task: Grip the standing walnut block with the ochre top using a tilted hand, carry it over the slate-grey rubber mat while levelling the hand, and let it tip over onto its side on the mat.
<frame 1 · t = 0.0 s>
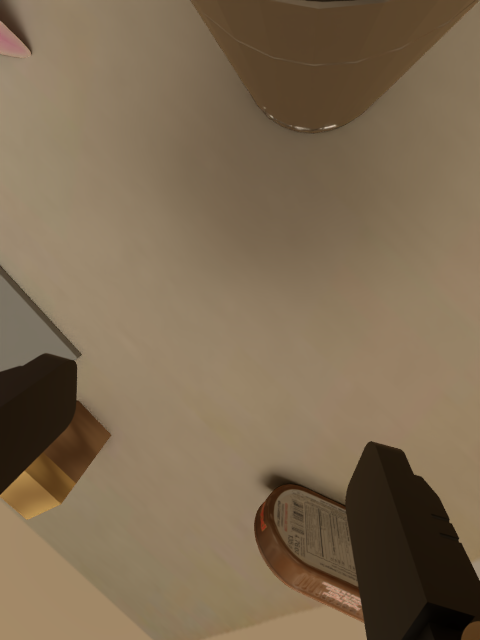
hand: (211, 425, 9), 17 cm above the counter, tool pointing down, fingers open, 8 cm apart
tin: (331, 504, 33), on the counter
block: (79, 426, 35), on the counter
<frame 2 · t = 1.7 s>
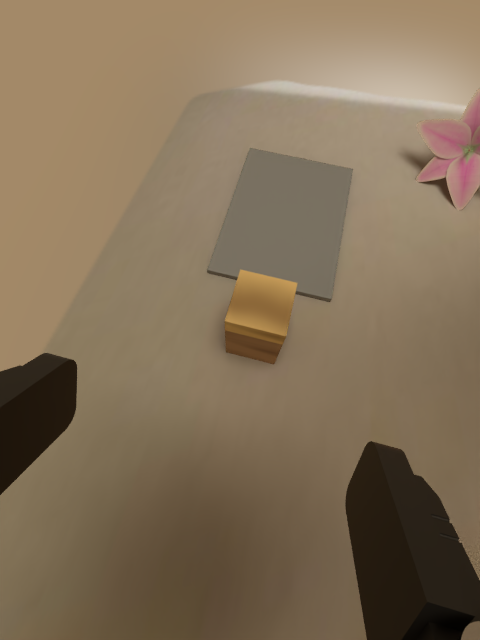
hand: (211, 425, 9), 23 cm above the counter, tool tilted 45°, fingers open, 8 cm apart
mat: (285, 218, 41), on the counter
lily: (445, 180, 44), on the counter
block: (255, 335, 34), on the counter
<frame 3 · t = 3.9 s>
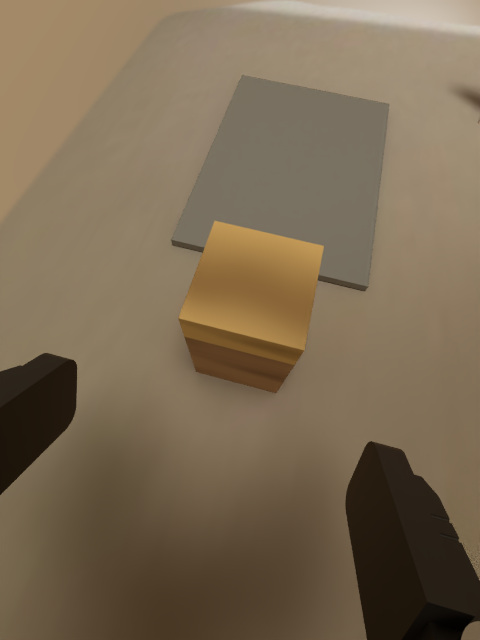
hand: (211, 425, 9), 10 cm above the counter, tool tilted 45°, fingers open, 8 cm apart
mat: (293, 169, 27), on the counter
block: (245, 344, 21), on the counter
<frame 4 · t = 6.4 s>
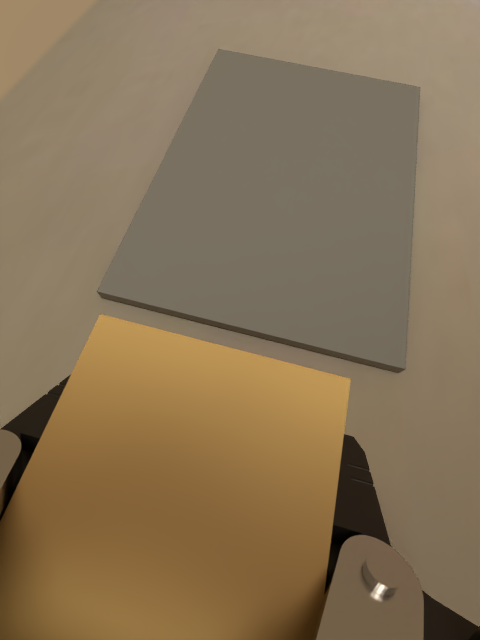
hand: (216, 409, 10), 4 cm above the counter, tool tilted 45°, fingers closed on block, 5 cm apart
mat: (287, 178, 19), on the counter
block: (207, 474, 13), on the counter, touching gripper
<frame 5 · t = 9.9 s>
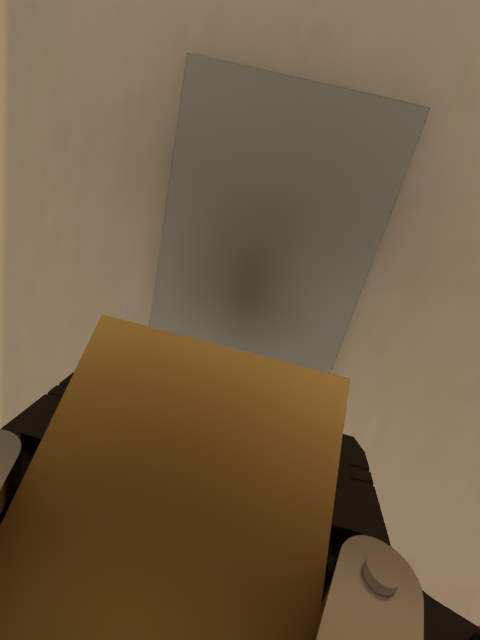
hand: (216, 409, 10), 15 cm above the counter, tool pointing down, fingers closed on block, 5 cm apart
mat: (263, 252, 23), on the counter
block: (208, 474, 13), point 13 cm above the counter, tilted 45°, touching gripper
when the fingers open (5 cm above the counter, at t = 12.4 s): block moves 2 cm and tips over, resting on mat.
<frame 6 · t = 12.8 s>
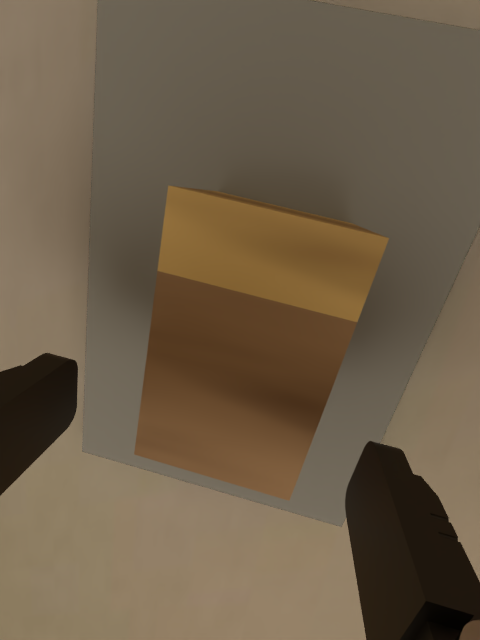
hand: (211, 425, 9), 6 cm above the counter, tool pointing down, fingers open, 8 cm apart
mat: (250, 306, 14), on the counter
block: (226, 425, 12), point 3 cm above the counter, tilted 90°, touching mat
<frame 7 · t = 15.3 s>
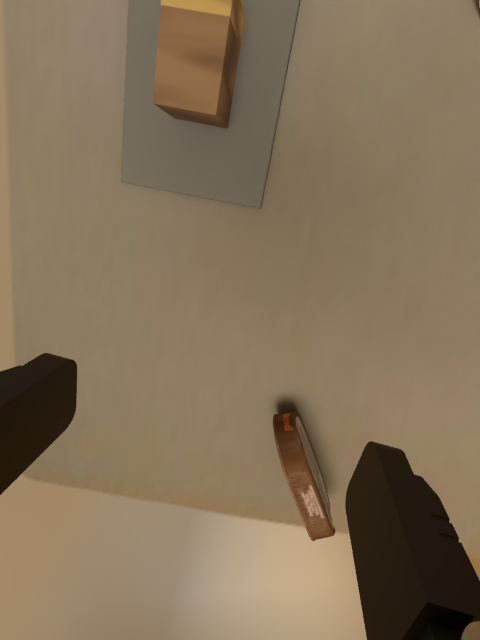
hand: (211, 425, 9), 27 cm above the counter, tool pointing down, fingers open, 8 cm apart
mat: (205, 75, 29), on the counter
tin: (303, 446, 41), on the counter
block: (193, 117, 27), point 3 cm above the counter, tilted 90°, touching mat
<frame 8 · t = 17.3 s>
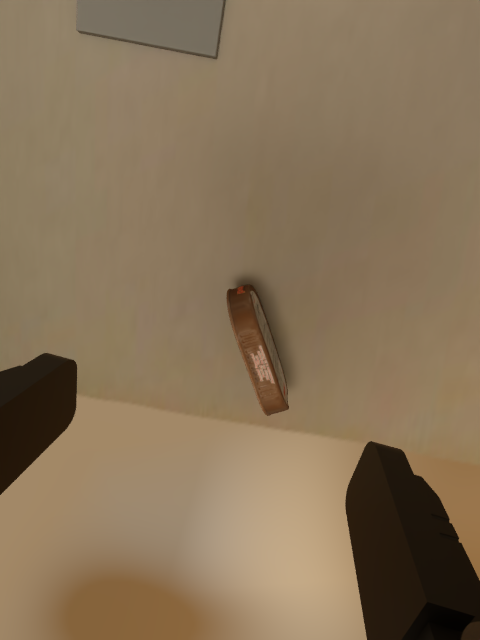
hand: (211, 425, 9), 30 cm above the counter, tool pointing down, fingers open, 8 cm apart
tin: (263, 335, 41), on the counter
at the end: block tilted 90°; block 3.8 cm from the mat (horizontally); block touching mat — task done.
